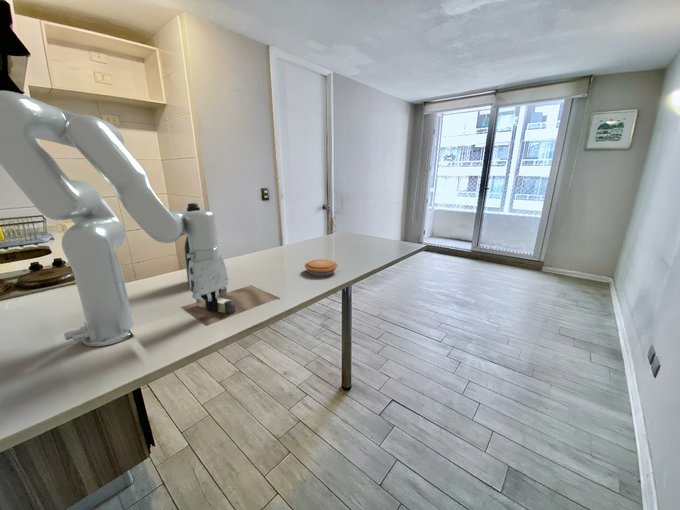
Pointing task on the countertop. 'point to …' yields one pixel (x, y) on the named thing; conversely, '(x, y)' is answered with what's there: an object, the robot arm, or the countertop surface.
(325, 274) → the pie
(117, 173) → the robot arm
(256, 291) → the brown wooden flat board
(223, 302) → the folding leg
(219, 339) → the countertop surface
